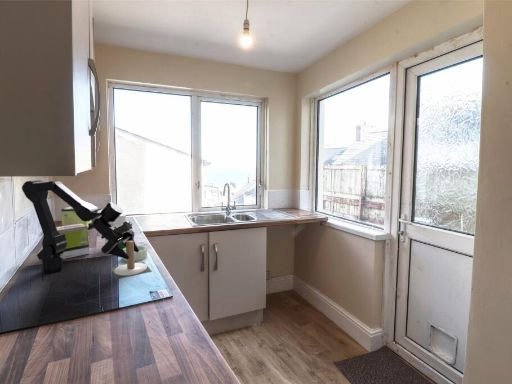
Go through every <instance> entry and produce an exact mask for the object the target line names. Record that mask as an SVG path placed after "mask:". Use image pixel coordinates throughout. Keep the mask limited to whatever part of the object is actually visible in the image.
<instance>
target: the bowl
mask: <svg viewBox="0 0 512 384" xmlns="http://www.w3.org/2000/svg"><path fill="white" fill-rule="evenodd" d="M136 246H137V248H138V250H139V251H138V252H135V251H134V261H136V262H137V261H141V260H144V259H146V258H147V256H148V247H147V246H145V245H136ZM122 249H123V250H124V251H125V252H126V248H122ZM122 260H123V261H125V262H127V259H125V258H122Z"/></svg>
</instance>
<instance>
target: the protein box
mask: <svg viewBox="0 0 512 384" xmlns="http://www.w3.org/2000/svg"><path fill="white" fill-rule="evenodd" d="M60 211H61V212H60V213H61V225H62V226H68V225H75V224H84V225H86V226H87V229H88V226H89V225H88V224H89V223H92V222H93V220H90V221H82V220H81V219H80V218H79V217H78V216H77V215H76V213H75V210H74V209H73V208H72V207H71V206H67V207H64V208H61V210H60Z"/></svg>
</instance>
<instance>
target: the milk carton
mask: <svg viewBox="0 0 512 384" xmlns="http://www.w3.org/2000/svg"><path fill="white" fill-rule="evenodd" d="M126 221H127V215H126V214H124V213H122V214H121V215H120V216H119V217H118V218H117V219H116V220H115V221H114V222H110V223H111V224H112V225H113V226H115V225H116V226H118V227H120V226H122V225H123V222H126ZM121 248H122V249H124V248H126V247H125V246H124V245H123V244H122V243H121Z"/></svg>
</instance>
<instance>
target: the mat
mask: <svg viewBox="0 0 512 384" xmlns="http://www.w3.org/2000/svg"><path fill="white" fill-rule="evenodd" d="M141 263H143V264H146V262H145V261H142V262H141ZM117 267H118V266H117ZM117 267H111V268H110V270H111V272H112V274H113V277H114V278H115V280H119V279H123V278H128V277H133V276H138V275H142V274H147V273H151V272H153V271H152V270H151V268H150V267H149V266H148V265H147V270H146V271H144V272H142V273H139V274H136V275H130V276H119V275H116V274H115V273H114V270H115V269H116V268H117Z"/></svg>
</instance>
